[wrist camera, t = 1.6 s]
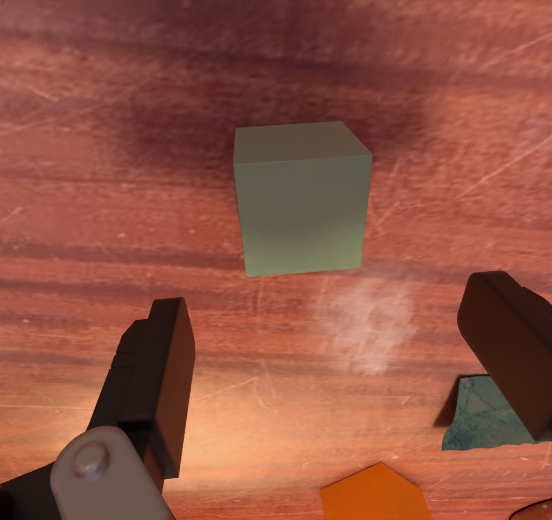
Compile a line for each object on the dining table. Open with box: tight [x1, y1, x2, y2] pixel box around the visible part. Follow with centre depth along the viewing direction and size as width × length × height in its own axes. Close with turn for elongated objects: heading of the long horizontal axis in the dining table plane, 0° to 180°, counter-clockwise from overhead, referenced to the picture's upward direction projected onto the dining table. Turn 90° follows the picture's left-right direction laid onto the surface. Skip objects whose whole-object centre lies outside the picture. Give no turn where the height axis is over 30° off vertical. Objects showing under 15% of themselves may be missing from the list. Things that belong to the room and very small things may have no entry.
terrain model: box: [442, 376, 552, 451], centre depth 31 cm, size 13×8×2 cm, turn 86°
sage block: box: [233, 121, 373, 277], centre depth 16 cm, size 5×5×5 cm
